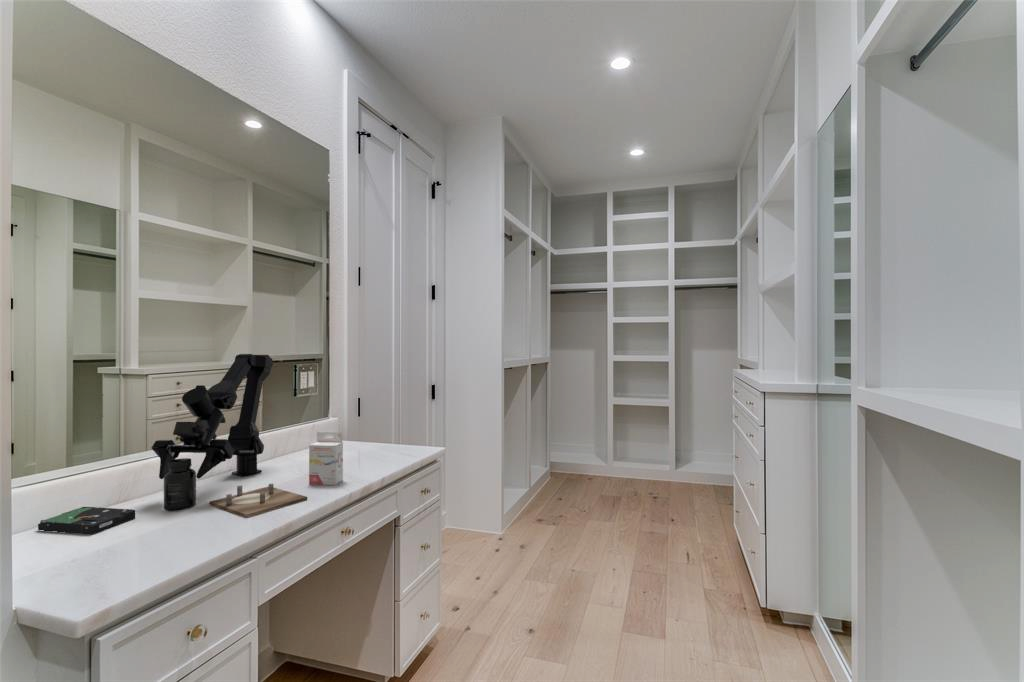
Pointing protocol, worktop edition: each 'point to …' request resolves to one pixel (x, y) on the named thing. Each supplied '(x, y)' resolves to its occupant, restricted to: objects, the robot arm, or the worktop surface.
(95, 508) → the disk drive
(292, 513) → the worktop surface
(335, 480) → the ink cartridge box
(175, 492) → the supplement bottle
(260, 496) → the plate
